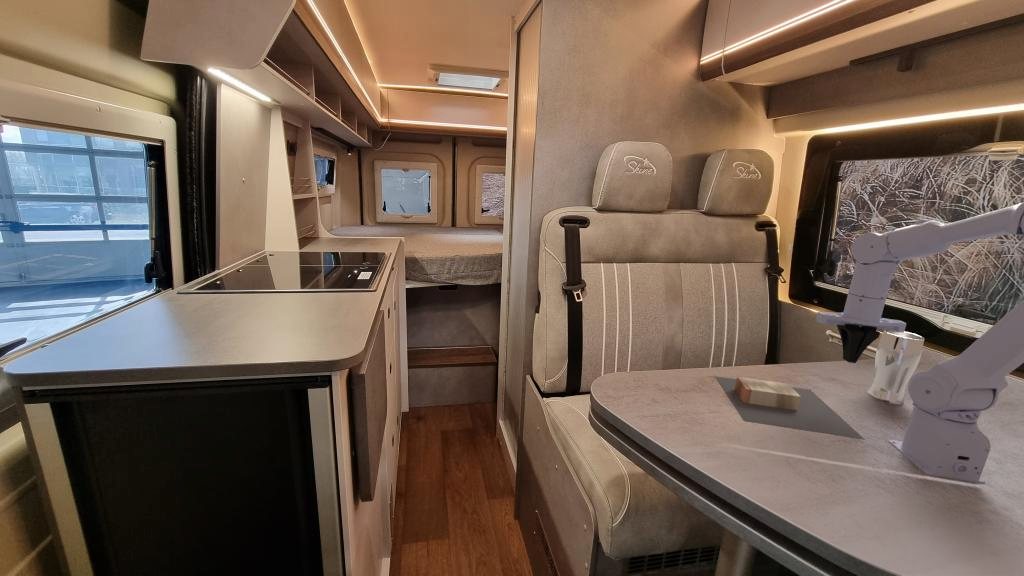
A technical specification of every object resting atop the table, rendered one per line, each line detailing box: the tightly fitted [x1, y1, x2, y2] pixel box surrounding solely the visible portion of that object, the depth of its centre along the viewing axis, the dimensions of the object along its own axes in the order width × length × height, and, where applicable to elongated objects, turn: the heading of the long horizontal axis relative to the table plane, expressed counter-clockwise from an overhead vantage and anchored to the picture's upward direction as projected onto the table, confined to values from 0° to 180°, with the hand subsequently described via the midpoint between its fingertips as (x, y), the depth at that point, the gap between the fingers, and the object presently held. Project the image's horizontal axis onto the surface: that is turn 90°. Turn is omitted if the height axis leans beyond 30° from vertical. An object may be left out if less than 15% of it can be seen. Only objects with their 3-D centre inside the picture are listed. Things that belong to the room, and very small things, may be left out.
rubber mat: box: [715, 376, 865, 440], centre depth 86 cm, size 20×20×1 cm
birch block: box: [734, 376, 801, 410], centre depth 87 cm, size 6×3×10 cm
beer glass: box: [867, 330, 925, 406], centre depth 91 cm, size 7×7×15 cm
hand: (849, 360), depth 84 cm, fingers closed
